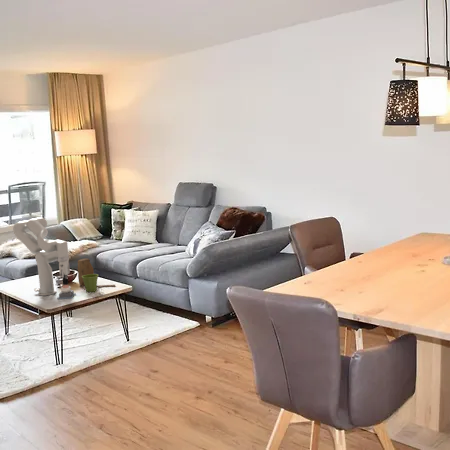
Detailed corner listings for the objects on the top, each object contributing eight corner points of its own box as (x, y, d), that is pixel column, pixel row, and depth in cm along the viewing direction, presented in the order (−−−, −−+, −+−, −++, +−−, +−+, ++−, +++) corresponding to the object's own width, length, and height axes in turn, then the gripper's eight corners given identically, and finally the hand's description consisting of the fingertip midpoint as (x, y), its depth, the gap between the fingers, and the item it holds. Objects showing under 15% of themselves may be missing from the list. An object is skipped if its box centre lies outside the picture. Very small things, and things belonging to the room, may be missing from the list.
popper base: (57, 299, 377) (57, 294, 376) (61, 295, 387) (61, 290, 386) (72, 298, 377) (71, 293, 376) (75, 294, 387) (75, 289, 386)
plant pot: (103, 289, 397) (101, 274, 395) (91, 293, 387) (89, 278, 385) (91, 288, 403) (90, 273, 401) (79, 292, 393) (78, 276, 391)
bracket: (94, 287, 403) (94, 286, 403) (95, 286, 406) (95, 285, 405) (114, 286, 403) (114, 285, 403) (115, 285, 406) (115, 284, 406)
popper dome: (60, 296, 378) (59, 285, 377) (63, 294, 385) (62, 283, 384) (69, 296, 378) (68, 285, 377) (72, 293, 385) (71, 282, 384)
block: (82, 286, 407) (80, 260, 404) (78, 285, 413) (75, 259, 410) (95, 284, 414) (93, 258, 411) (91, 282, 420) (88, 257, 417)
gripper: (65, 260, 370) (68, 286, 373) (71, 256, 385) (73, 281, 388) (54, 261, 370) (57, 287, 373) (60, 256, 385) (63, 282, 388)
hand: (65, 284), depth 380 cm, fingers closed
